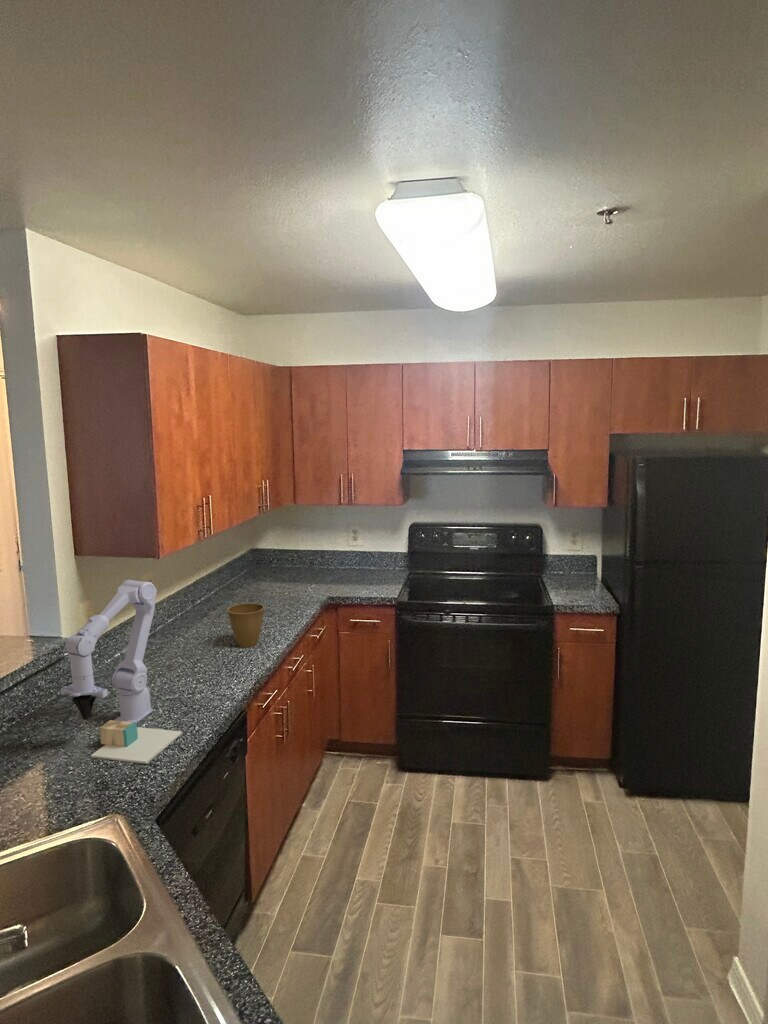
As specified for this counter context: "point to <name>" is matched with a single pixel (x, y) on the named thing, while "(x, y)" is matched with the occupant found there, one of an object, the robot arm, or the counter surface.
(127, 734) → the wooden block
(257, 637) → the plant pot
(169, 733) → the board
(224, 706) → the counter surface
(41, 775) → the counter surface
